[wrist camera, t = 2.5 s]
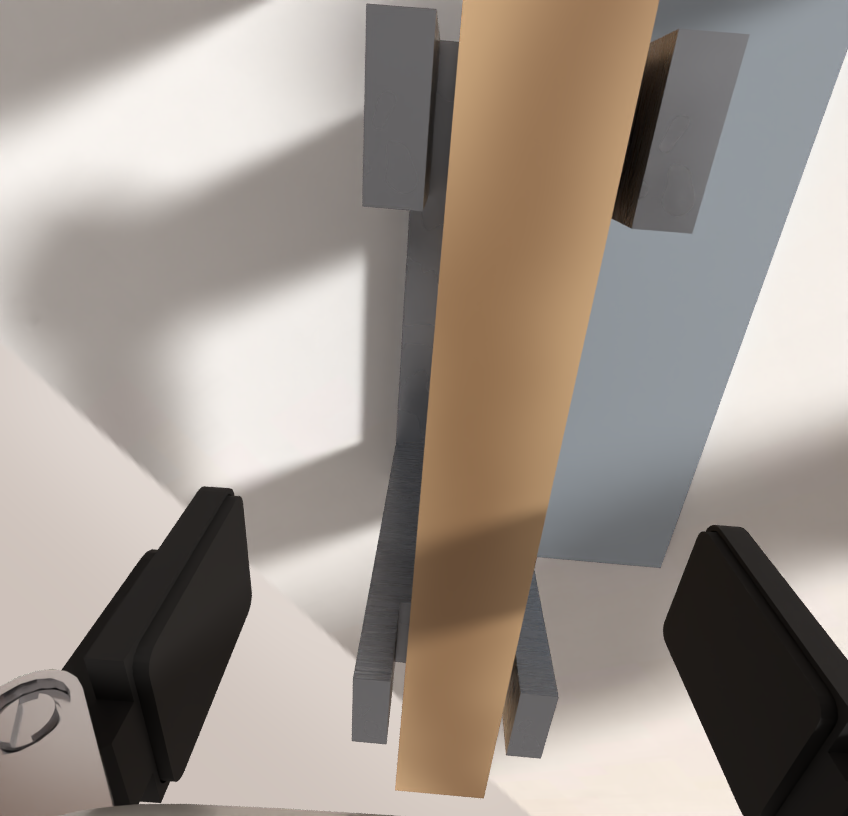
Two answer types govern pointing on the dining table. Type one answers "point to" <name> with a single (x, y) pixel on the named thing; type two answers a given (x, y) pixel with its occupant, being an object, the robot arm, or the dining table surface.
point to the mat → (688, 291)
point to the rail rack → (425, 198)
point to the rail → (508, 347)
